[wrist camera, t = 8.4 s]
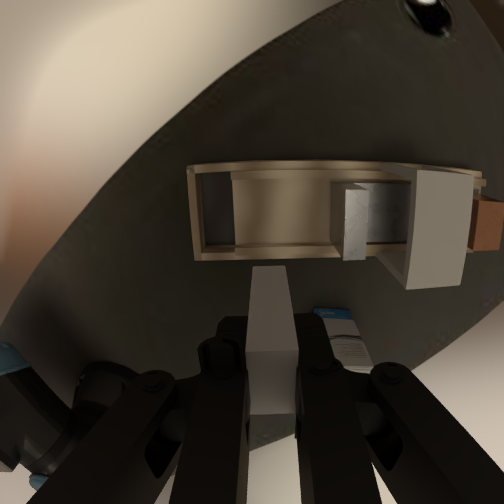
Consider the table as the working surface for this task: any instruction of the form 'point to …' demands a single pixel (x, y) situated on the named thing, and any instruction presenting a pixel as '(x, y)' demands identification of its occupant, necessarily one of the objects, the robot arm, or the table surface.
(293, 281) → the table surface
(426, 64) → the table surface
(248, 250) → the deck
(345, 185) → the sled
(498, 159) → the table surface
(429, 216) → the tunnel
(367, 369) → the ink box
